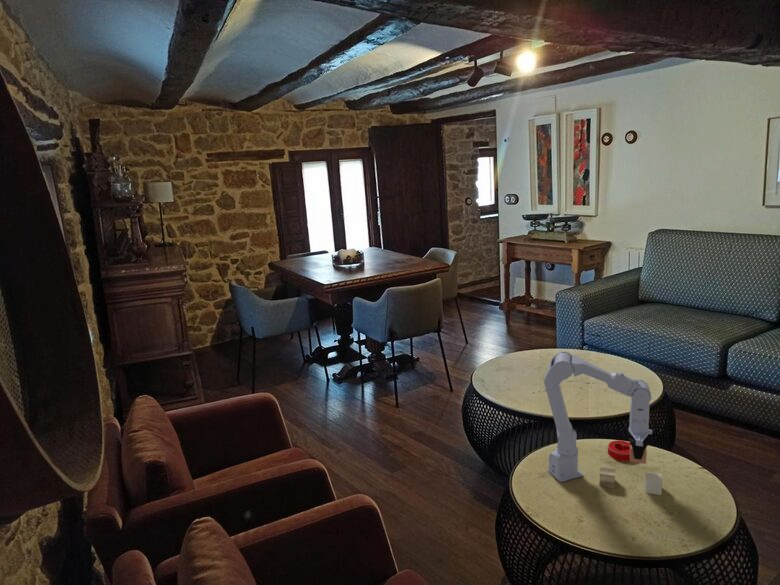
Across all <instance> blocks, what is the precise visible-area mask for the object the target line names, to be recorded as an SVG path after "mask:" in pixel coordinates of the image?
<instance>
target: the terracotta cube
mask: <svg viewBox="0 0 780 585" xmlns="http://www.w3.org/2000/svg"><path fill="white" fill-rule="evenodd" d="M647 451H648V450H647V447H646V448H645V450H644V453H643V457H642V459H641V460H640V459H635V458H634V453H633V448H632V446H631V444H630V461H629V462H630V463H635V464H644V465H646V464H647V454H648V453H647Z"/></svg>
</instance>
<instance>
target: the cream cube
mask: <svg viewBox="0 0 780 585" xmlns="http://www.w3.org/2000/svg"><path fill="white" fill-rule="evenodd" d="M662 491H663V478H662V473H656V472H650V471H649V472H648V471H645V472H644V492H645V493H646V494H652V495H659V496H662Z"/></svg>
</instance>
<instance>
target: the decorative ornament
mask: <svg viewBox="0 0 780 585" xmlns="http://www.w3.org/2000/svg"><path fill="white" fill-rule="evenodd" d="M607 455H608V456H609V457H611V458H612V459H614V460H617V461H621V462H630V441H629V442H628V441H626V440H617V439H616V440H613V441H610V442H609V443H608V445H607Z"/></svg>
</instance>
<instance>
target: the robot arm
mask: <svg viewBox="0 0 780 585" xmlns="http://www.w3.org/2000/svg"><path fill="white" fill-rule="evenodd" d="M572 375H573V377H575V378H576V377H577V376H581V375H585V376H588V377H589V378H590V377H591V378H594V379H595V380H598V381H601V382H603V383H605V384H607V385H606V386H607V387H608V389H611V390H613V391H614V392H617V393H620V394H621V395H625V396H627V397H630V399H631V400H630V404H629V407H630V408H629V426H628V432H629V435H630V436H631V437H629V438H628V439H629V443H630V444H631V446H632V448H633V453H634V458H635V459H640V460H641V459H642V457H643V453H644V450H645V448H646V449H647V447H649V446H648V445H649V441H648V440H646V438H647V436H648V435H652V434H653V429H650V428H649V423H650V402H651V400H652V399H653V398H652V393H651V391H650V387H649V385H648V383H647V382H646V381H644V380H642V379H637V378H635V379H633V378H631V377H628V376H626V375H625V373H624V372H621V371H620V372H618V371H613V372H609V371H606V370H604V369H603V368H600V367H598V366H597V365H594V364H592V363H590V362H588V361H586V360H584V359H583V358H581V357H579V356H578V355H576V354H571V353H570V352H568V351H563V350H562V351H559V352H557V353H556V354H555V355H554V356H553V357H552V358H551V360H550V363H549V365H548V368H547V371H546V372H545V375H544V379H543V384H544V387H545V391H546V395H547V398H548V402H549V406H550V409H551V413H552V417H553V421H554V424H555V429H556V434H557V435H556V436H557V445H556V449H554V451H552V452H550V453H549V454H548V469H547V471H548V472H549V473H550V475H552V476H553V477H554V478H555V479H556V480H558V482H560V483H562V482H565V481H569V480H573V479H576V478H580V477H583V476H584V473H583V472H581V471H580V469H579V449H578V447H577V438H578V435H577V431H576V430H575V429H574V428H573V425H572V423H571V422H570V418H569V415H568V410H567V407H566V404H565V399H564V396H563V392H562V389H561V384H562V382H563V381H565V380H567V379H568V378H570V377H571V376H572Z"/></svg>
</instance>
